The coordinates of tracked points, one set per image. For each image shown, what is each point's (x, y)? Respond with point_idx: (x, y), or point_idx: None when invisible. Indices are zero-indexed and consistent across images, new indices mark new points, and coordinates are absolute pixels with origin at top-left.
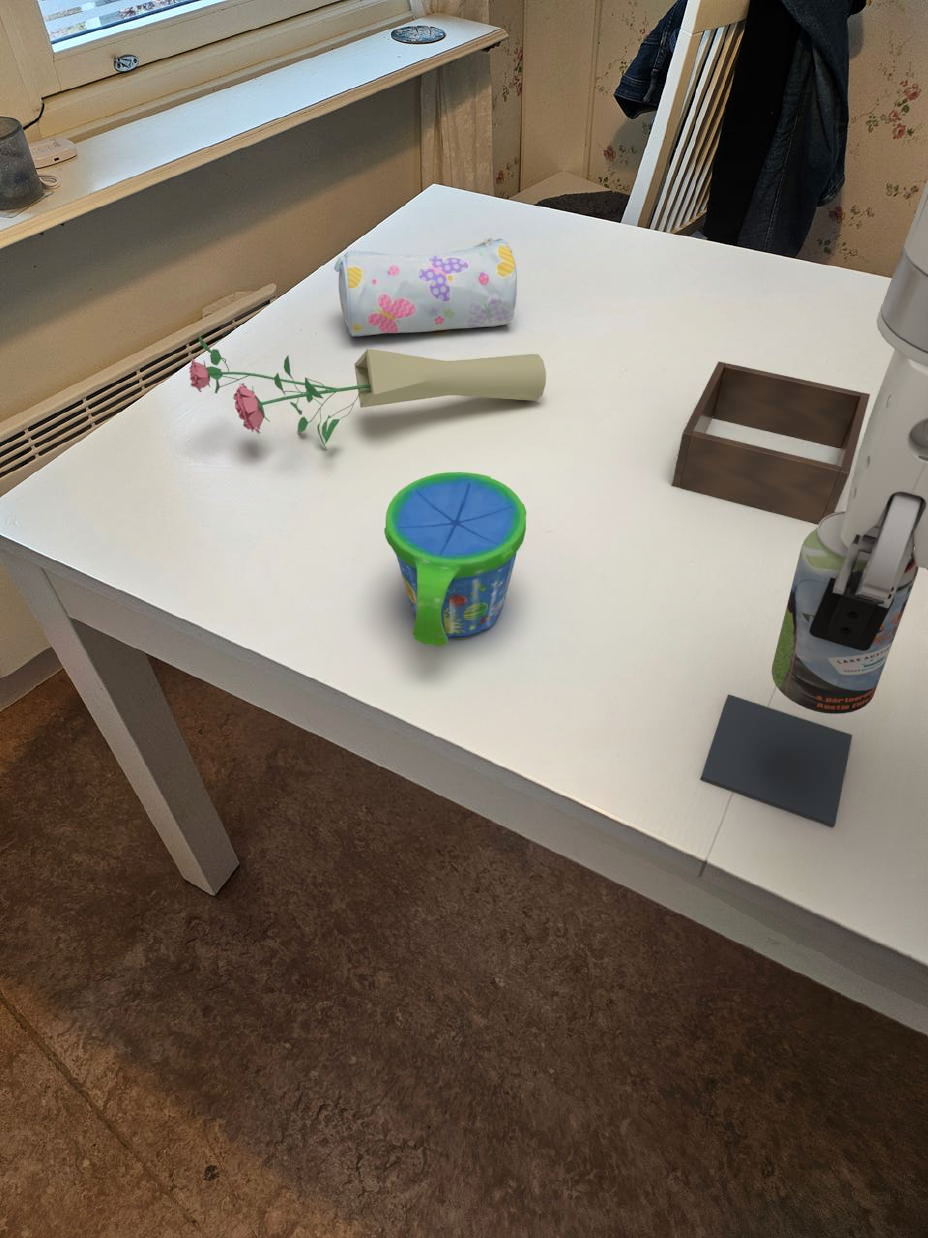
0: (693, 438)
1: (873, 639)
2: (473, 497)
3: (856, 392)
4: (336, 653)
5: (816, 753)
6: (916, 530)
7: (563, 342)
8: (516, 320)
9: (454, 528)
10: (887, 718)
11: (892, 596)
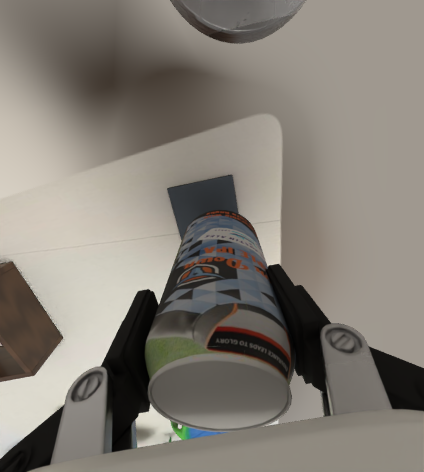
0: (32, 368)
1: (285, 273)
2: (199, 431)
3: None
4: None
5: (193, 200)
6: None
7: (8, 423)
8: (16, 443)
9: None
10: (138, 174)
11: (367, 349)
